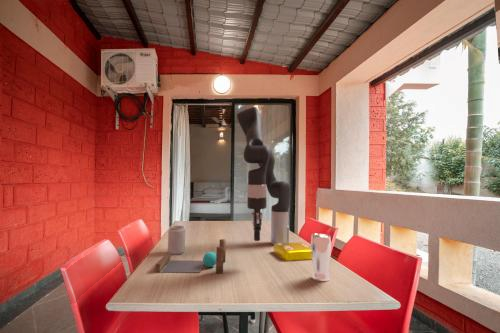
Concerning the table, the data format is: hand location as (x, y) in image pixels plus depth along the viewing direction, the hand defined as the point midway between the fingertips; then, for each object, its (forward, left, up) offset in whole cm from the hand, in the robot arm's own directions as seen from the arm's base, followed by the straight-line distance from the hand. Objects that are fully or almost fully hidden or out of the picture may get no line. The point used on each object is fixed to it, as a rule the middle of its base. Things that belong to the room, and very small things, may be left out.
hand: (256, 240), depth 107 cm
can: (+36, -19, -11) cm, 42 cm away
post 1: (+14, -6, -10) cm, 19 cm away
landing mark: (+28, 0, -10) cm, 30 cm away
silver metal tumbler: (-22, +11, -11) cm, 27 cm away
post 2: (+14, +6, -10) cm, 18 cm away
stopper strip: (+36, 0, -10) cm, 38 cm away
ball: (+18, 0, -8) cm, 20 cm away
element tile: (-18, -18, -11) cm, 27 cm away
